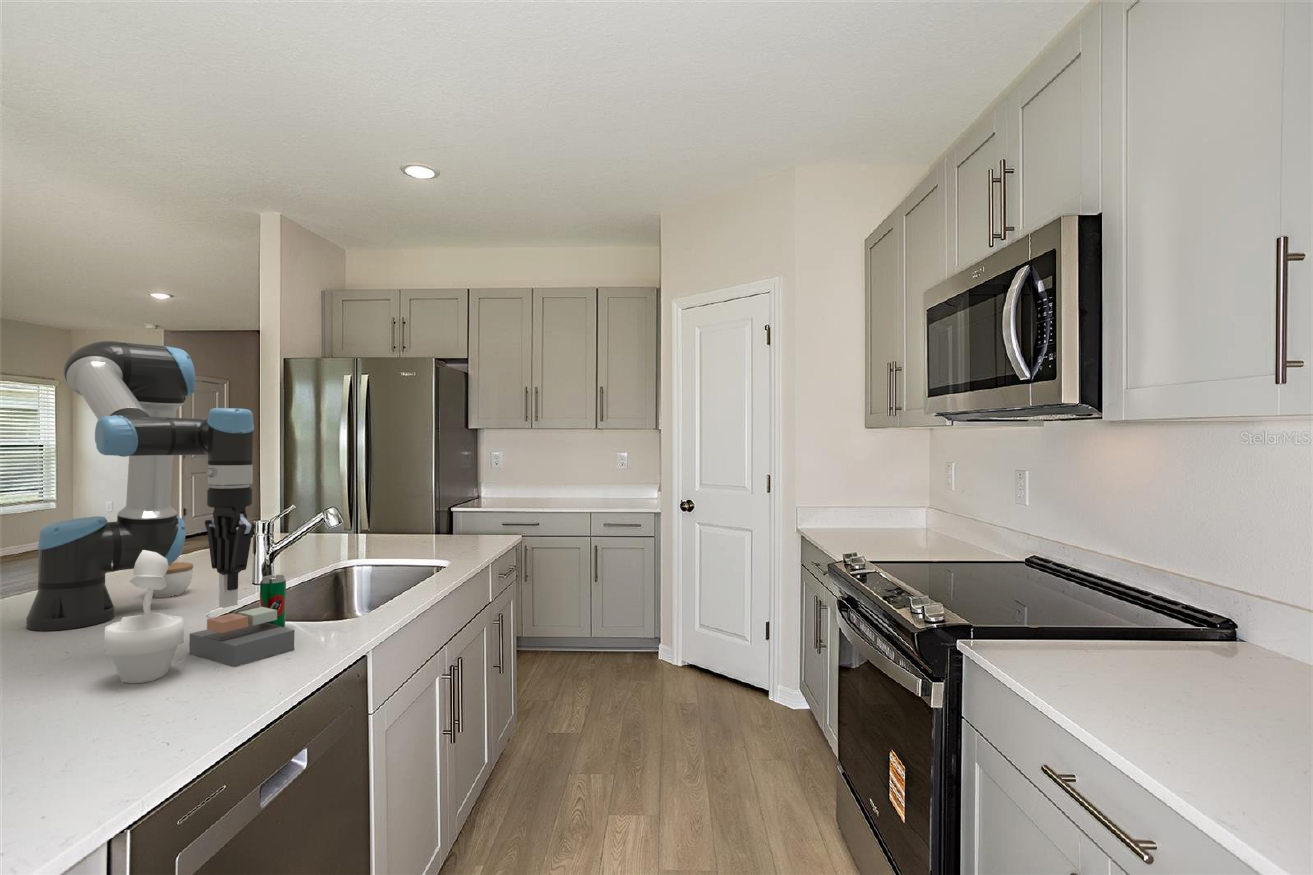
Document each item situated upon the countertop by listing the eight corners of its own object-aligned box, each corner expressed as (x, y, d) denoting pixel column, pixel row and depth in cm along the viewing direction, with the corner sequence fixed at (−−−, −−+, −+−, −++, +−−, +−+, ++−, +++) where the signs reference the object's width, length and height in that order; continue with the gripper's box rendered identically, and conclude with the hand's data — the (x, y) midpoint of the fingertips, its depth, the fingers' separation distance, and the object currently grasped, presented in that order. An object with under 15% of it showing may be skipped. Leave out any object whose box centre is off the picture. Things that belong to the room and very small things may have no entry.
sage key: (238, 621, 137) (238, 612, 137) (262, 616, 142) (262, 606, 142) (252, 625, 135) (253, 615, 135) (276, 619, 139) (277, 610, 139)
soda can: (290, 627, 153) (291, 574, 153) (275, 634, 148) (276, 579, 148) (269, 626, 153) (270, 573, 153) (253, 633, 148) (254, 578, 148)
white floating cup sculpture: (113, 671, 123) (116, 535, 123) (190, 663, 128) (192, 532, 128) (89, 696, 112) (92, 545, 112) (173, 687, 116) (176, 542, 116)
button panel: (189, 653, 134) (189, 632, 134) (249, 638, 144) (249, 618, 144) (234, 666, 127) (234, 644, 127) (294, 649, 137) (294, 629, 137)
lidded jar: (202, 592, 184) (202, 558, 184) (161, 601, 174) (161, 565, 174) (175, 588, 188) (175, 555, 188) (133, 597, 178) (134, 561, 178)
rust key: (206, 629, 132) (207, 619, 132) (233, 623, 136) (233, 613, 136) (222, 633, 130) (222, 622, 130) (247, 626, 134) (248, 616, 134)
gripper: (191, 486, 133) (189, 605, 132) (230, 489, 127) (228, 614, 126) (230, 484, 139) (228, 598, 139) (269, 486, 133) (267, 606, 133)
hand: (228, 605), depth 133 cm, fingers closed
